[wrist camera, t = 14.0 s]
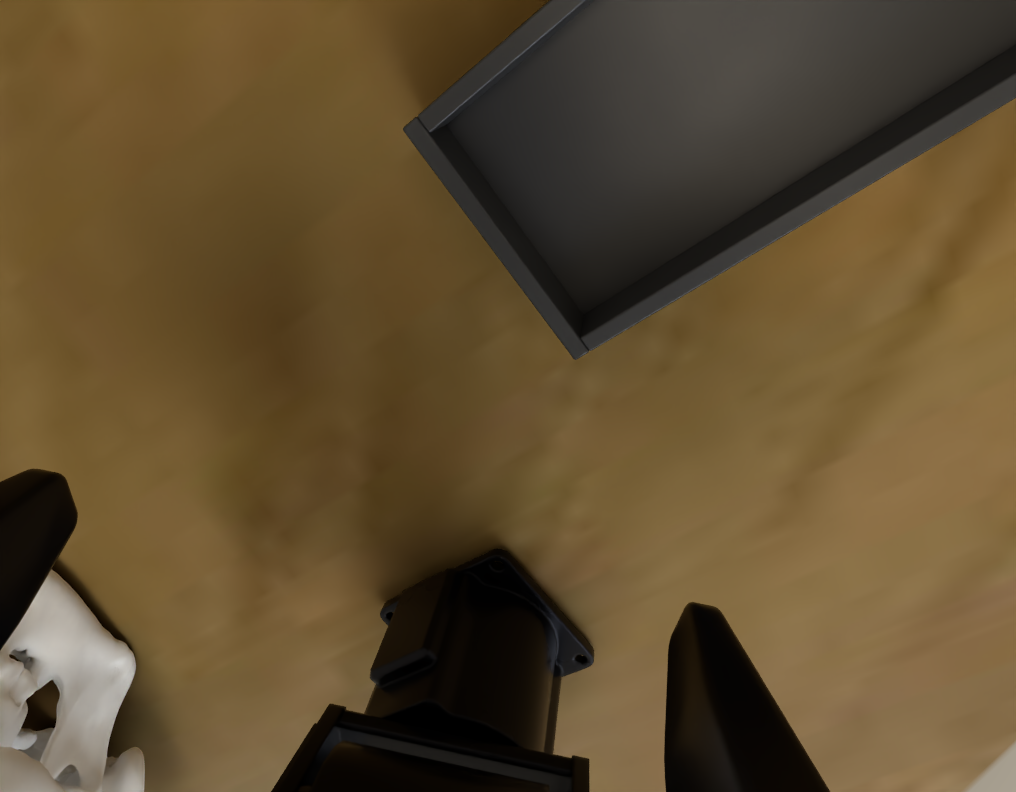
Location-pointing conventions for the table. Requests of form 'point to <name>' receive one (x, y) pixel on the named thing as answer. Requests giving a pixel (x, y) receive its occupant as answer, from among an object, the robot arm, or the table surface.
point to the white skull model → (65, 699)
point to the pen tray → (695, 134)
